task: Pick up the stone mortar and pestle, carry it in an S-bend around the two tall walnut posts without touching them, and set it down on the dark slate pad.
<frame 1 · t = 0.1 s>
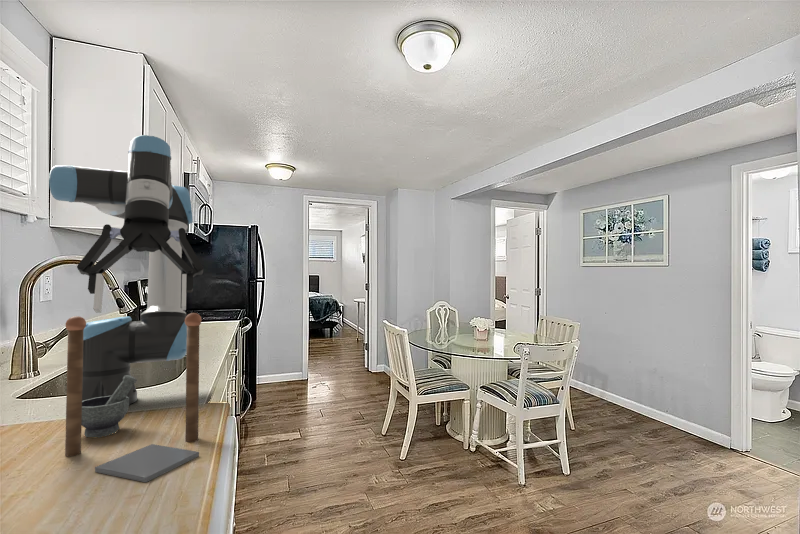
hand: (142, 309, 77), 28 cm above the countertop, tool tilted 20°, fingers open, 13 cm apart
mortar and pestle: (105, 433, 92), on the countertop
post a: (73, 453, 80), on the countertop
slate pad: (149, 463, 76), on the countertop
post b: (191, 439, 87), on the countertop
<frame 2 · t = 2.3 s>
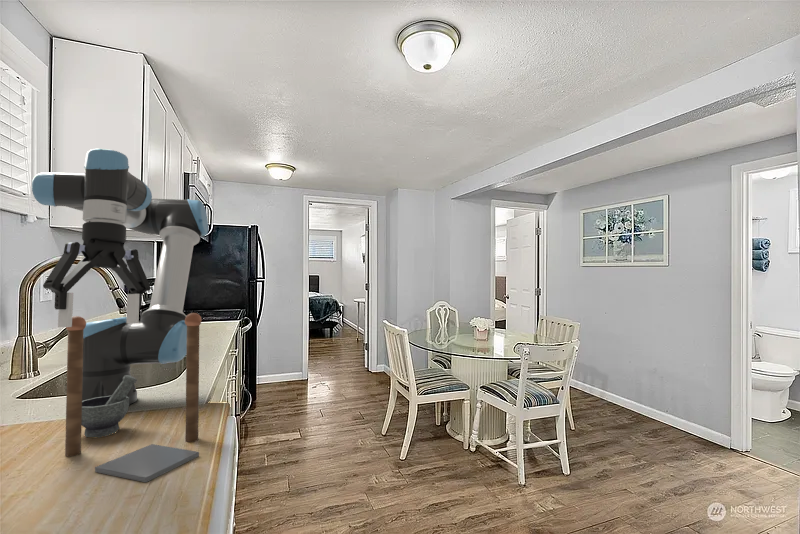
hand: (101, 325, 86), 24 cm above the countertop, tool pointing down, fingers open, 13 cm apart
nothing on the countertop moved.
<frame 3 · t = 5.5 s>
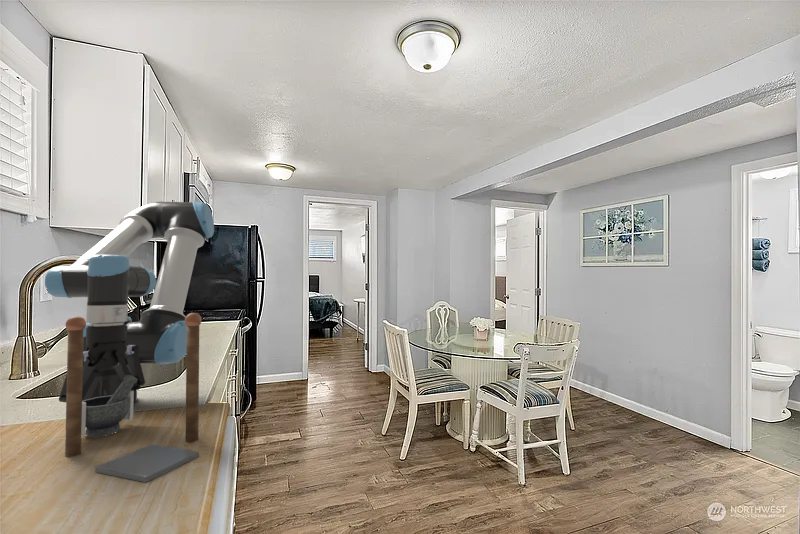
hand: (104, 426, 92), 1 cm above the countertop, tool pointing down, fingers closed on mortar and pestle, 10 cm apart
mortar and pestle: (106, 432, 92), on the countertop, touching gripper
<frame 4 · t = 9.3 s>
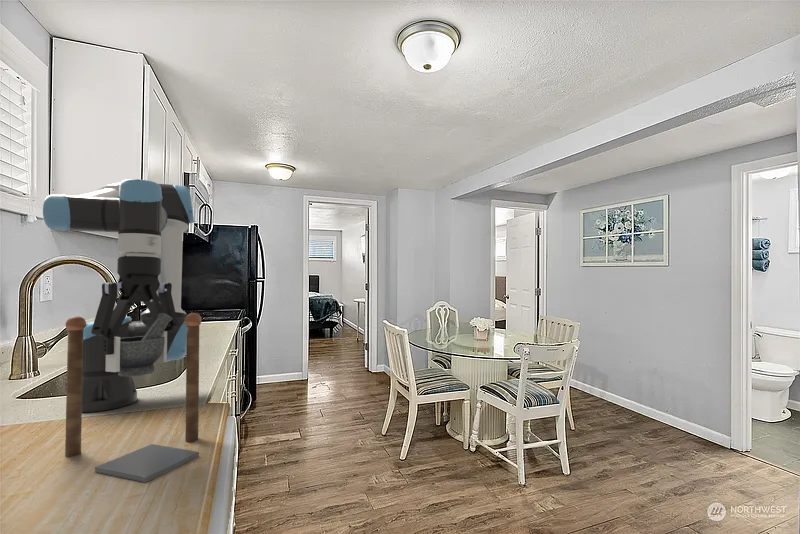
hand: (137, 366, 84), 16 cm above the countertop, tool pointing down, fingers closed on mortar and pestle, 10 cm apart
mortar and pestle: (140, 373, 85), point 14 cm above the countertop, touching gripper
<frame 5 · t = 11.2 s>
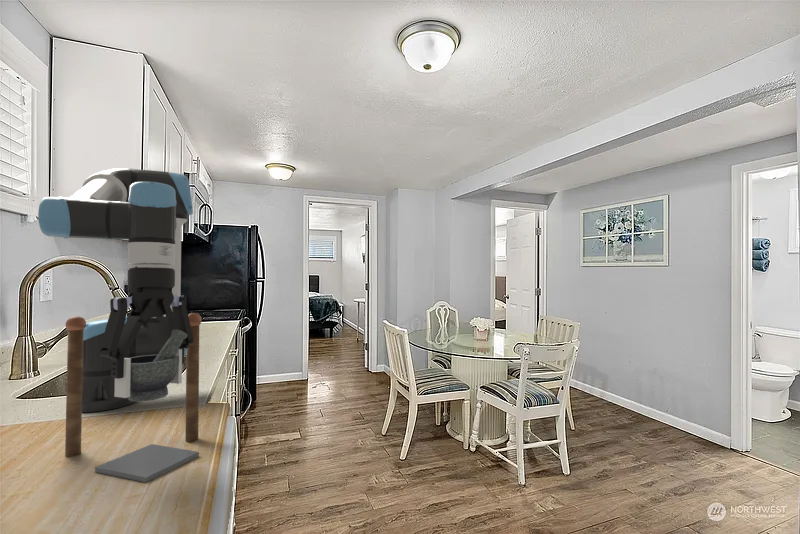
hand: (150, 389, 76), 13 cm above the countertop, tool pointing down, fingers closed on mortar and pestle, 10 cm apart
mortar and pestle: (152, 397, 77), point 12 cm above the countertop, touching gripper
when the fingers open (4 cm above the countertop, at t = 13.0 s): mortar and pestle drops 1 cm, resting on slate pad.
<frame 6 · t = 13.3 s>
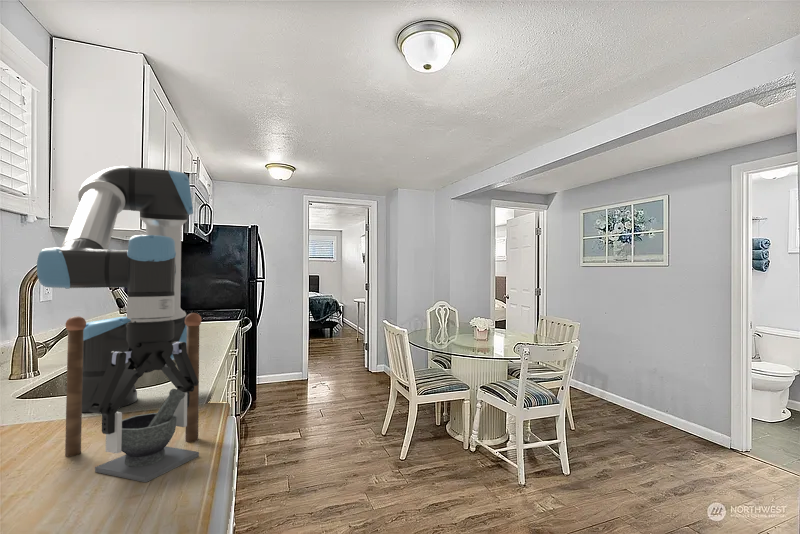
hand: (149, 438, 76), 5 cm above the countertop, tool pointing down, fingers open, 13 cm apart
mortar and pestle: (149, 459, 76), point 1 cm above the countertop, touching slate pad
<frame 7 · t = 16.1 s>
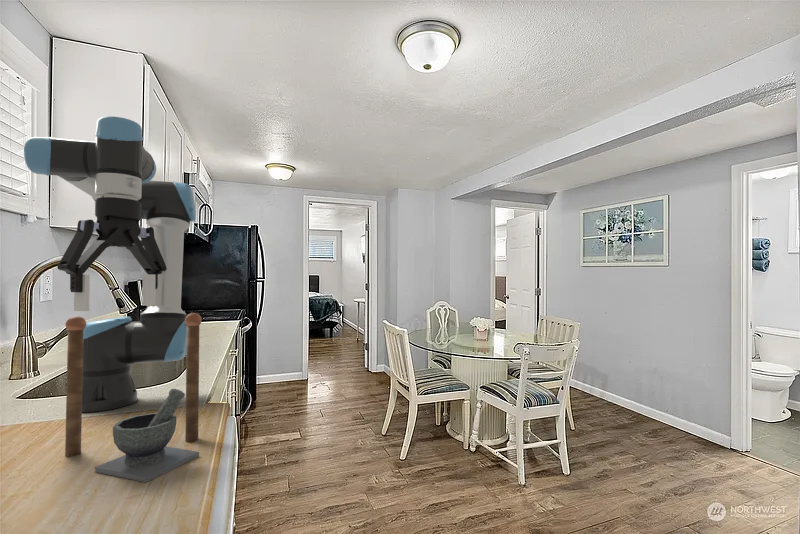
hand: (117, 308, 81), 28 cm above the countertop, tool pointing down, fingers open, 13 cm apart
nothing on the countertop moved.
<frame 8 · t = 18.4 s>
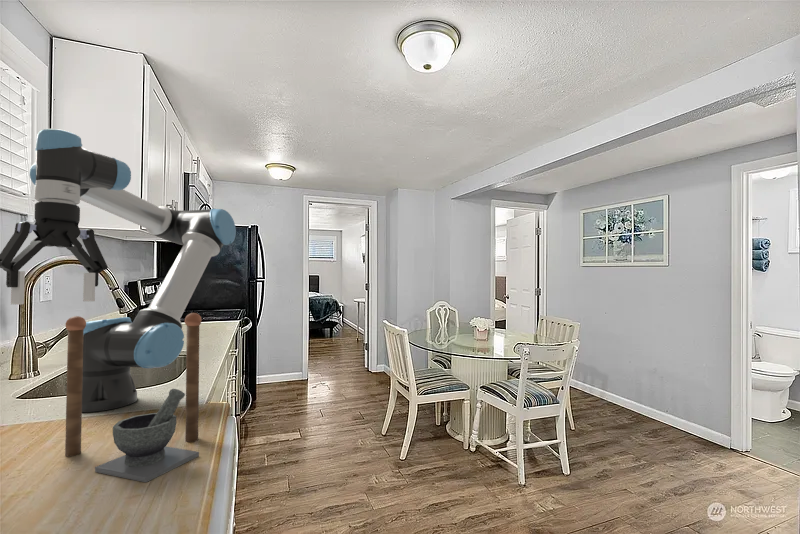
hand: (55, 303, 89), 29 cm above the countertop, tool pointing down, fingers open, 13 cm apart
nothing on the countertop moved.
at the end: mortar and pestle inside the target area on the slate pad (0.3 cm from its centre), point 0.6 cm above the slate pad's base; mortar and pestle tilted 0°; the gripper is holding nothing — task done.
